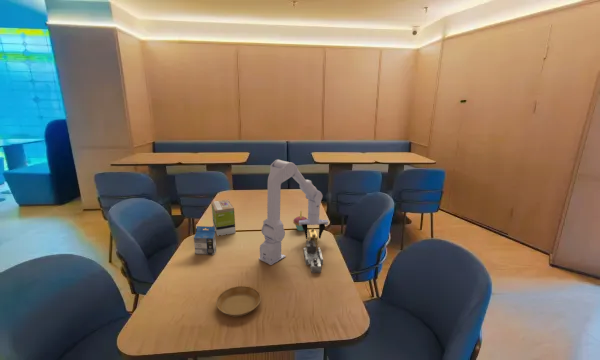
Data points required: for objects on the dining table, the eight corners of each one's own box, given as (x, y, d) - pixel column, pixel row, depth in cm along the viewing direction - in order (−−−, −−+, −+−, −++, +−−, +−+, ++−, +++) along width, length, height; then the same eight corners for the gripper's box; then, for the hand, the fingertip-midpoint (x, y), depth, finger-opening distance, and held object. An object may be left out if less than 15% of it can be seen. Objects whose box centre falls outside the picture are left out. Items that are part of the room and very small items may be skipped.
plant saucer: (242, 286, 106) (242, 280, 105) (269, 303, 97) (269, 297, 96) (207, 307, 95) (207, 300, 94) (235, 328, 86) (235, 321, 85)
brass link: (317, 244, 139) (317, 235, 138) (310, 245, 139) (310, 235, 137) (315, 236, 147) (315, 228, 146) (308, 236, 147) (309, 228, 146)
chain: (325, 272, 115) (325, 264, 114) (307, 273, 115) (307, 265, 114) (317, 245, 137) (318, 239, 136) (302, 246, 137) (302, 239, 136)
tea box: (212, 225, 159) (210, 201, 156) (230, 223, 163) (229, 198, 160) (216, 236, 146) (215, 209, 142) (236, 233, 150) (234, 207, 147)
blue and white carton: (194, 254, 128) (192, 229, 125) (198, 250, 132) (195, 226, 129) (214, 255, 128) (212, 230, 125) (216, 250, 132) (215, 226, 128)
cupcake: (308, 232, 152) (308, 211, 149) (292, 232, 152) (293, 211, 149) (308, 226, 160) (308, 206, 157) (293, 225, 161) (293, 205, 158)
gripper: (326, 209, 144) (325, 234, 147) (298, 210, 143) (298, 234, 146) (329, 214, 137) (328, 240, 140) (299, 215, 136) (299, 240, 139)
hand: (313, 237), depth 143 cm, fingers open, 6 cm apart
